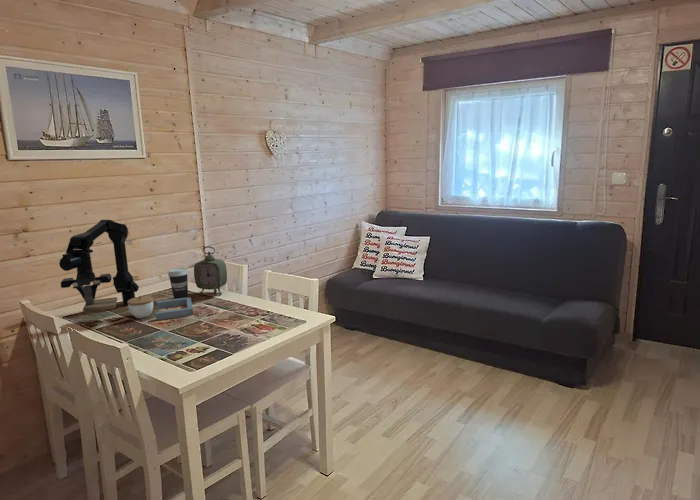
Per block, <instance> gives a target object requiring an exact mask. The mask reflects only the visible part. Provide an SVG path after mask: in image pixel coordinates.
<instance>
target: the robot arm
mask: <svg viewBox="0 0 700 500" xmlns="http://www.w3.org/2000/svg"><path fill="white" fill-rule="evenodd" d="M128 231H129V229H128V226H127V225H126V224H122V223H119V222H116V221H114V220H111V219H101V220H99V221H98V222H97V223H96V224H94V225H93V226H91V227H90V228H89V229H88V230H86V231H85V232H82V233H78V234H75V235H73V236H71V237H70V239H69V242H68V246H67V247H66V251H65V253H64V254H62V257H61V258H60V259H59V263H58V265H59V267H60V268H61V270H63V271H65V272H68V271H72V270H74V269H76V272H77V273H76V276H75V277H76V278H75V279H74V277H67V278H63V279H62V280H61V281H60V288H61V289H64V288H70V287H71V286H73V287H72V289H76V290H77V291H78V292H79V294H80V295H81V297H82V298H83V300H84V301H85V296H84V289H83V287H84V286H88V285H92V288H93V299H94V300H96V294H97V289H98V287H99V286H100V285H101V284H107V283H111V281H112V282H113V283H112V285H113V287H114V289H115V290H116V293H121V297H122V303H121V306H122V305H125V306H128V303H127V301H128V300H130V299H132V298H135V297H136V294H135V293H137V292H138V291H139V285H138V284H137V283H136V282H135V281H134V277H133V275H132V274H131V273H130V271H129V266H128V257H127V249H126V241H127V238H128V236H129V235H128V233H129V232H128ZM104 233H106V234H107V235H108V239H109V240H110V241H111V242H112V245H113V250H114V251H113V252H114V258H115V259H114V260H115V267H116V274H115V276H113V277H112V274H110V273H102V274H100V275H99V276H96V274H95V272H94V271H93V265H92V258H91V254H92V253H94V250H93V249H91V247H92V246H93V245H94V241H95V240H96V239H98V237H100V236H102V235H103V234H104ZM91 283H92V284H91Z"/></svg>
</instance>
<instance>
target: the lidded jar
mask: <svg viewBox="0 0 700 500" xmlns="http://www.w3.org/2000/svg"><path fill="white" fill-rule="evenodd" d="M127 303H128V305H127V306H128V311H129V313H130V314H131V315H132V316H133V317H135V318H136V319H144V318H148V317H149V316H151V313H152V312H153V311H154V297H153V296H151V295H144V296H143V295H139V296H135V298H132V299H130V300H128V301H127Z"/></svg>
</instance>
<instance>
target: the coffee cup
mask: <svg viewBox="0 0 700 500" xmlns="http://www.w3.org/2000/svg"><path fill="white" fill-rule="evenodd" d="M188 274H189V271H188V270H187V268H184V267H178V268H177V267H176V268H172V269H169V271H168V273H167V276H168V277H169V278H168V279H169V282H170V286H171V291H172V296H173V299H180V298H187V297H189V295H188V294H189V292H188V291H189V289H188V288H189V287H188V286H189V285H188V281H189V280H188Z"/></svg>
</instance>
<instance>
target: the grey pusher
mask: <svg viewBox="0 0 700 500" xmlns="http://www.w3.org/2000/svg"><path fill="white" fill-rule="evenodd" d="M92 285H93V284H90V285H83V289H84V296H85V300H84V302H85V304H84V306H83V308H82V312H84V313H87V312H96V311H104V310H111V309H115V308H116V305H117V303H118V297H108V298H107V297H105V298H99V299H93V288H92Z"/></svg>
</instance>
